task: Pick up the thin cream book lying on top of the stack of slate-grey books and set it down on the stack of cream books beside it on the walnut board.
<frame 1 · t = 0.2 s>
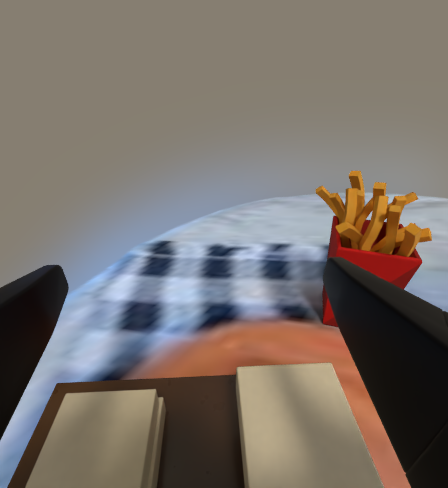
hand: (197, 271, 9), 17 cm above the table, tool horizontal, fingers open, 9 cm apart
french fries: (335, 316, 30), on the table
cream book: (302, 478, 14), point 5 cm above the table, touching grey books
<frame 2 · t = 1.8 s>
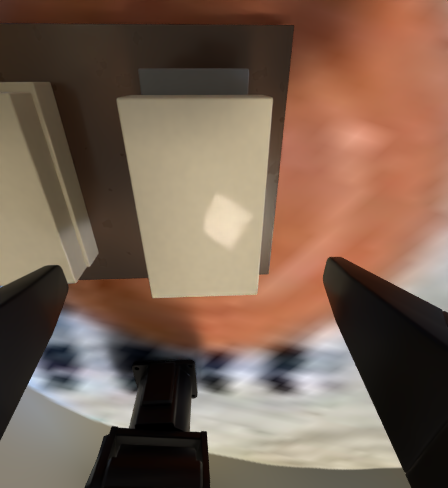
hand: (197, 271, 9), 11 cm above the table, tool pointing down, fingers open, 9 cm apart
cream book: (202, 199, 15), point 5 cm above the table, touching grey books
cream books: (41, 176, 18), resting on walnut board
grey books: (203, 173, 19), resting on walnut board
walnut board: (115, 175, 19), on the table
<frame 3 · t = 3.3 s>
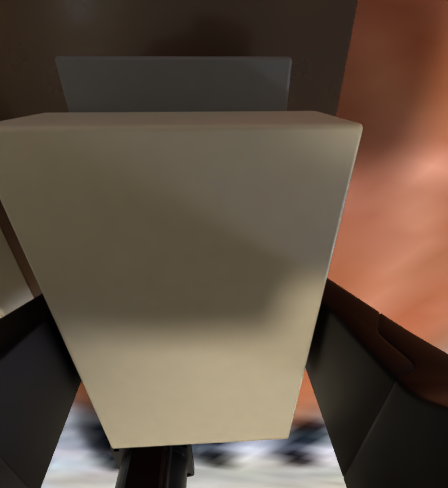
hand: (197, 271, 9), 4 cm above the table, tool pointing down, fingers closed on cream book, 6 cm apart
cream book: (195, 288, 9), point 5 cm above the table, touching grey books, gripper
grey books: (200, 220, 13), resting on walnut board
walnut board: (68, 223, 12), on the table
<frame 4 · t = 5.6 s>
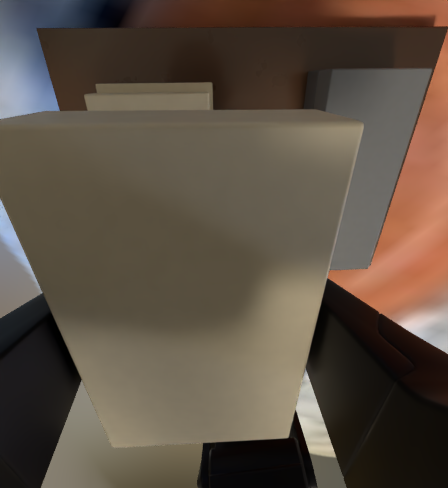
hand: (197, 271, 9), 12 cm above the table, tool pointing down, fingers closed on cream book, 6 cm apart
cream book: (196, 287, 9), point 13 cm above the table, touching gripper
cream books: (172, 172, 19), resting on walnut board
grey books: (324, 168, 20), resting on walnut board
walnut board: (242, 170, 20), on the table
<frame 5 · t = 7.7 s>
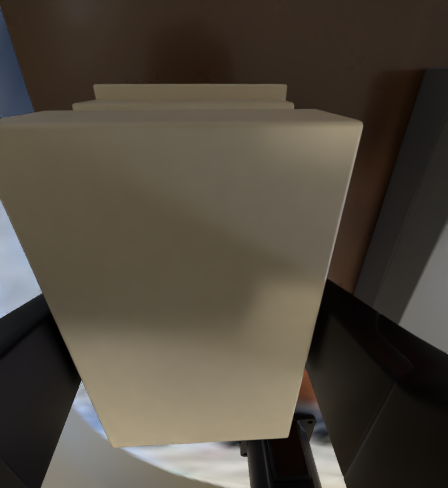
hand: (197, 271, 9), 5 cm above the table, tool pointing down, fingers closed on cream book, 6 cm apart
cream book: (195, 286, 9), point 6 cm above the table, touching gripper
cream books: (201, 209, 14), resting on walnut board
grey books: (412, 205, 14), resting on walnut board
walnut board: (298, 207, 14), on the table
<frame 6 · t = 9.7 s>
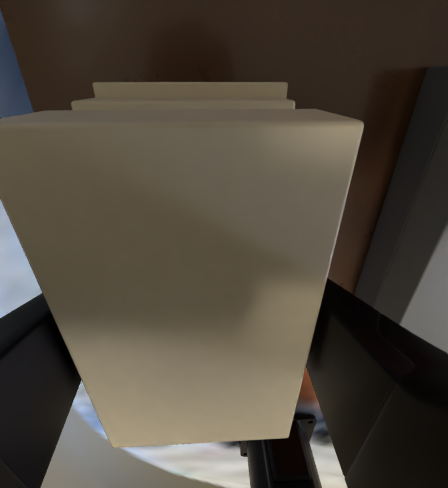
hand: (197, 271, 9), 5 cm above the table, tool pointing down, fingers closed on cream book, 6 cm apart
cream book: (195, 287, 9), point 6 cm above the table, touching gripper
cream books: (201, 209, 14), resting on walnut board
grey books: (413, 205, 14), resting on walnut board
walnut board: (299, 207, 14), on the table
when the fingers open (4 cm above the table, at t = 11.5 s): cream book stays where it is, resting on cream books.
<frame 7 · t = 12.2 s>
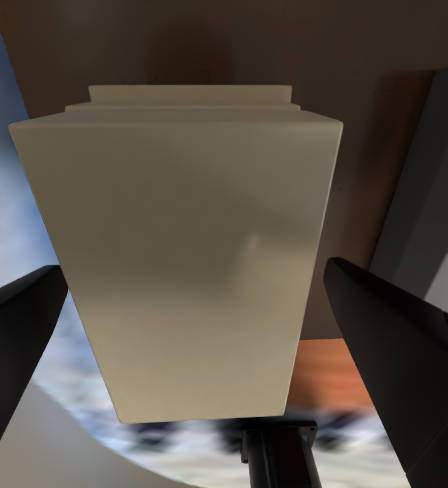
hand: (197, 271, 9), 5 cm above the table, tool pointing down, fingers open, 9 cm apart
cream book: (198, 274, 9), point 5 cm above the table, touching cream books
cream books: (201, 214, 13), resting on walnut board
grey books: (418, 210, 14), resting on walnut board
walnut board: (302, 212, 14), on the table
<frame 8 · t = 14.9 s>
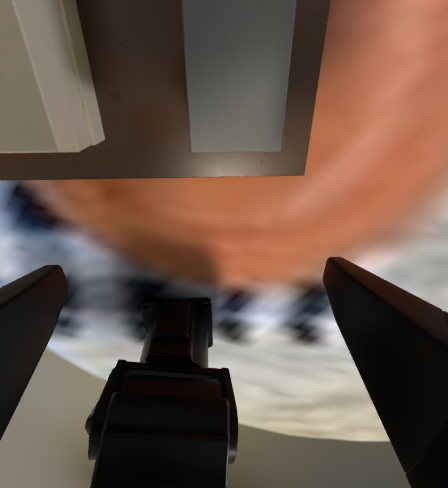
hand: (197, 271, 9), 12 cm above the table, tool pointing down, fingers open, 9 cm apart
cream books: (35, 32, 15), resting on walnut board
grey books: (232, 33, 16), resting on walnut board
walnut board: (126, 32, 15), on the table
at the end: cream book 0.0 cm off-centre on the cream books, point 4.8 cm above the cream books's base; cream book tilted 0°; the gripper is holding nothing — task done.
